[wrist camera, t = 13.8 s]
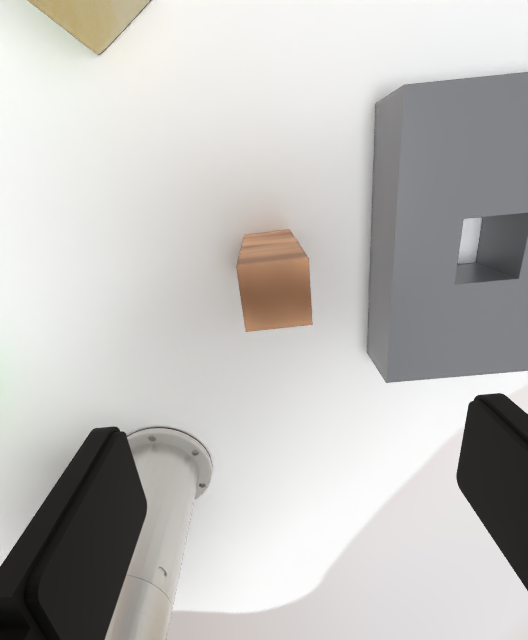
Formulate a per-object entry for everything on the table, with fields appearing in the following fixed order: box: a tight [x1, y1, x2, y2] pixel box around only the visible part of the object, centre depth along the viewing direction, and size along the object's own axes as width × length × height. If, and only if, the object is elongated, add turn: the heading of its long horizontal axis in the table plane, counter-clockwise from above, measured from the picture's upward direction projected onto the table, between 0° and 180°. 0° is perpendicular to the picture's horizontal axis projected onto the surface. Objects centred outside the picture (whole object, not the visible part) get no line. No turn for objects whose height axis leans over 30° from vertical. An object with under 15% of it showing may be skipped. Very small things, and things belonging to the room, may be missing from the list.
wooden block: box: [236, 230, 312, 332], centre depth 27 cm, size 4×4×13 cm
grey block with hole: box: [367, 72, 528, 383], centre depth 30 cm, size 24×16×6 cm, turn 5°
